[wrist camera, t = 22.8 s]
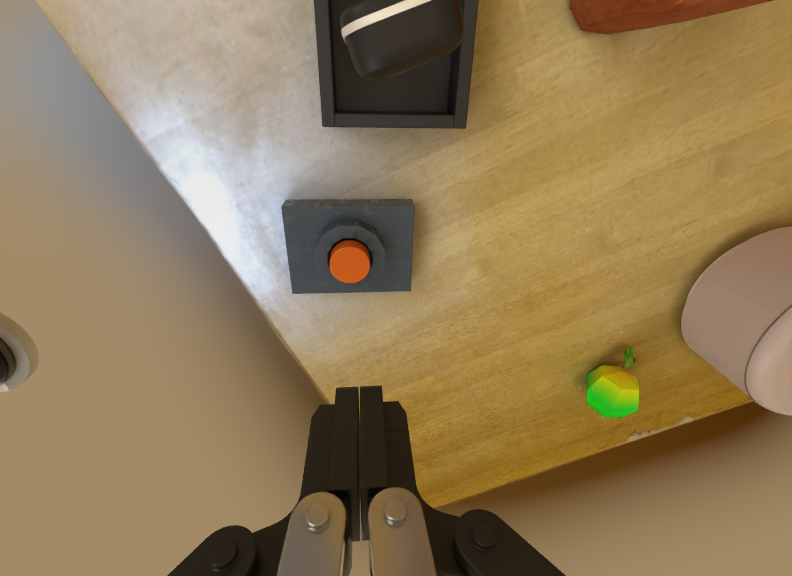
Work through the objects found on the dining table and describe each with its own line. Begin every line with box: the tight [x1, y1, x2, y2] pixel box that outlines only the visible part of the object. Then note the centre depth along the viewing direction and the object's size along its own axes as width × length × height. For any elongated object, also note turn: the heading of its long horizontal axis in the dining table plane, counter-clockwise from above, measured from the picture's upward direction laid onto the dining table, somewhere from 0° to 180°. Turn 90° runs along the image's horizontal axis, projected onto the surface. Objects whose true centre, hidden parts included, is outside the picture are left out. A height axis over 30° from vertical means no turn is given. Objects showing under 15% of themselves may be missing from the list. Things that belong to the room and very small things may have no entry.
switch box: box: [282, 199, 414, 294], centre depth 37 cm, size 12×9×4 cm
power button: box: [330, 240, 370, 283], centre depth 35 cm, size 4×4×2 cm
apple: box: [587, 347, 639, 418], centre depth 47 cm, size 7×6×9 cm
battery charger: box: [340, 0, 465, 82], centre depth 25 cm, size 7×4×11 cm, turn 108°
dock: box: [314, 0, 478, 129], centre depth 29 cm, size 12×12×4 cm
